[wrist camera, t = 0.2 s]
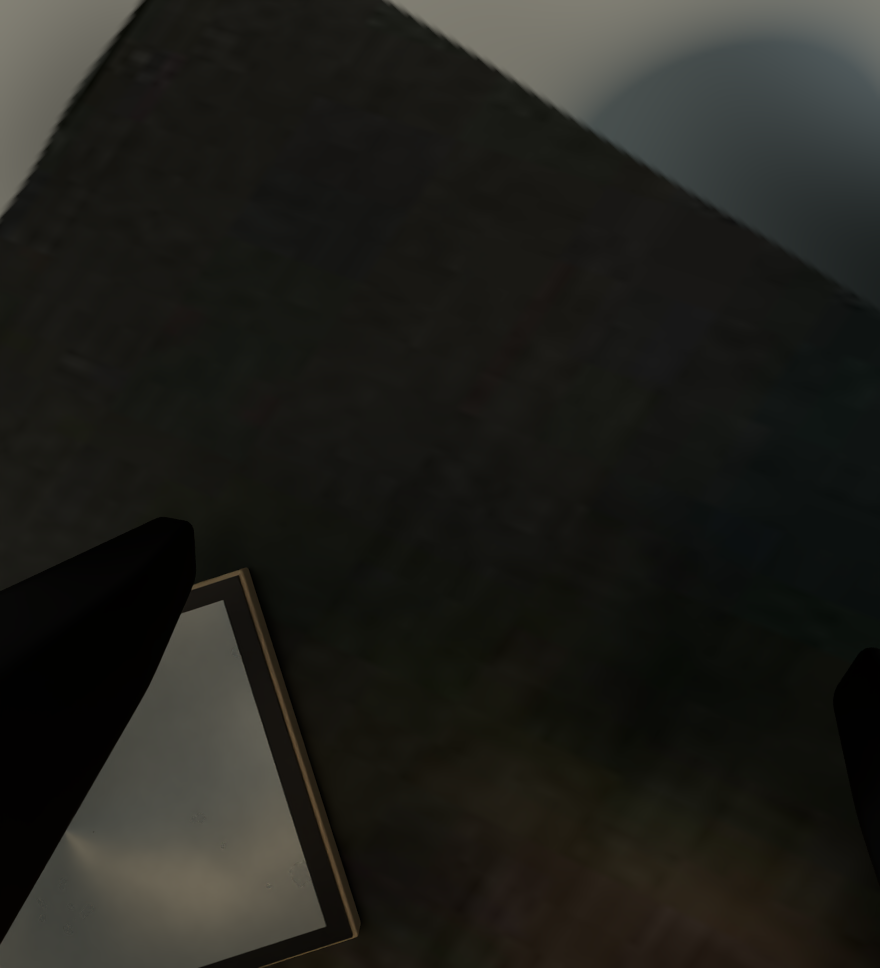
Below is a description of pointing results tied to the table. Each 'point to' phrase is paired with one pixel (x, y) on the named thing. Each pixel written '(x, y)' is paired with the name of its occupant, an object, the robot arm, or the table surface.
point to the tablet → (196, 820)
